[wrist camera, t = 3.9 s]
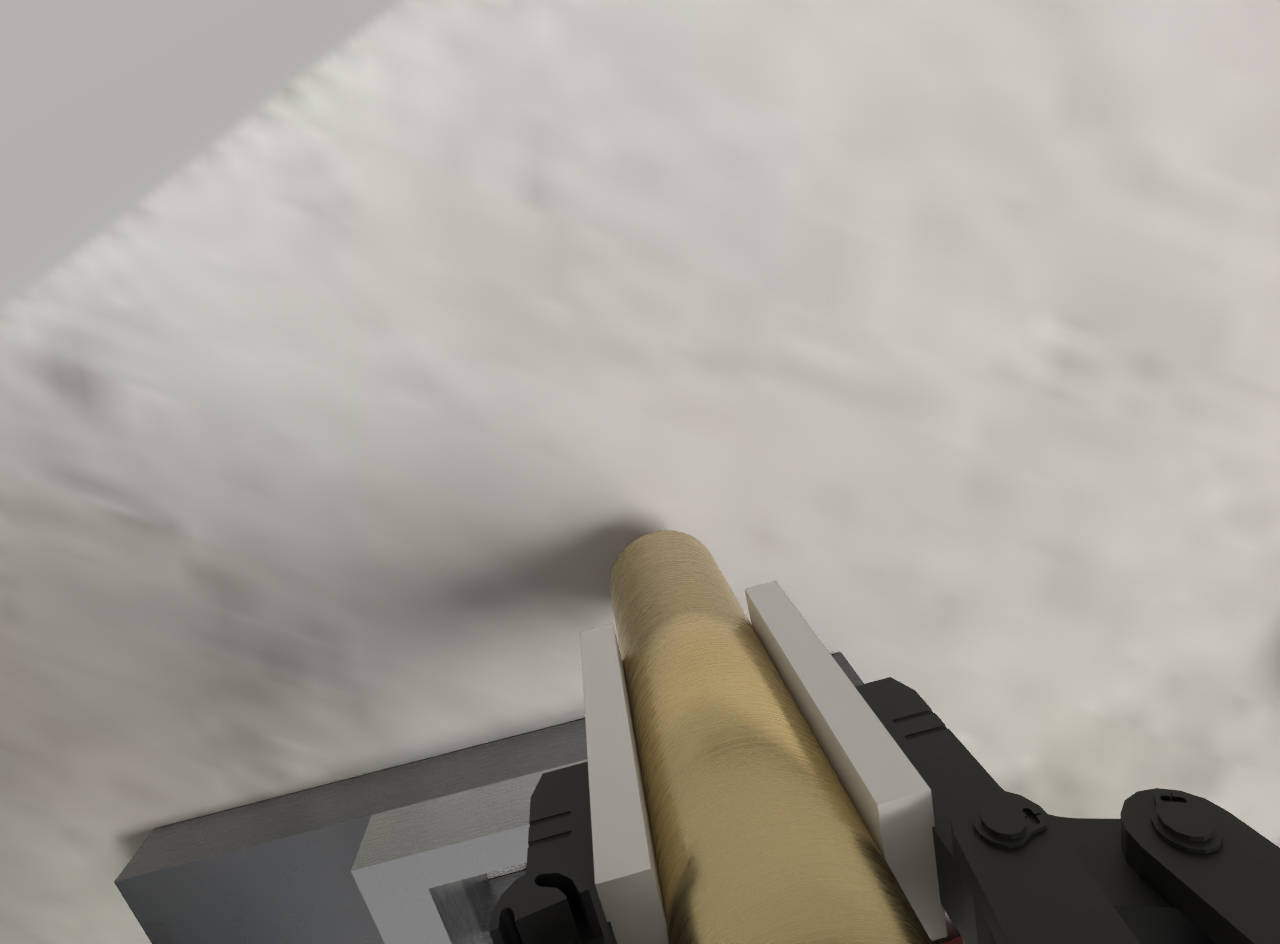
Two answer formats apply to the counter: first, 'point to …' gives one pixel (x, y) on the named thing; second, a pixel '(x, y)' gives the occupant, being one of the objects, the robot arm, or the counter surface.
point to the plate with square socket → (357, 853)
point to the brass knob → (738, 772)
